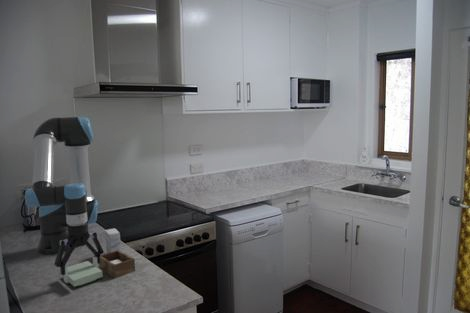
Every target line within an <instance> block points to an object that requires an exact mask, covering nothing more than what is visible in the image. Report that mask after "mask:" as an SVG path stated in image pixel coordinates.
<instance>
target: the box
mask: <svg viewBox="0 0 470 313" xmlns="http://www.w3.org/2000/svg"><path fill="white" fill-rule="evenodd" d="M121 251H122V250H121ZM121 251H119V250H117V251H114V252H111V253H107V252H106V253H103V254H101V255H100V257H99V260H100V263H99V264H98V268H99V269H100V270H102V272H104V273H106V274H108V275H109V276H110V277H112V278H113V279H116V278H120V277H122V276H125V275H128V274H131V273H133V272H136V263H135V261H136V260H135V258H134V257H132V256H130V255H128V254H127V253H124V252H123V251H122V252H121ZM117 259H118V260H120V261H122V262H121V263H118V264H113V263H112V262H110V261H113V260H117Z"/></svg>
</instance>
